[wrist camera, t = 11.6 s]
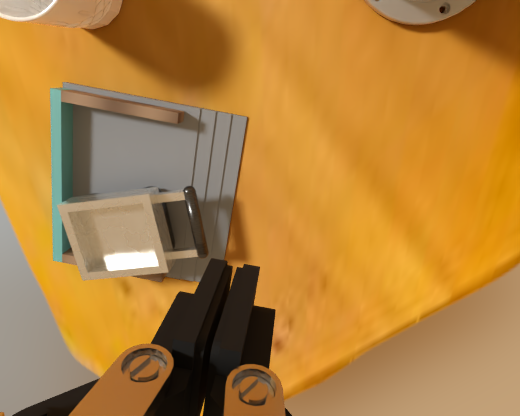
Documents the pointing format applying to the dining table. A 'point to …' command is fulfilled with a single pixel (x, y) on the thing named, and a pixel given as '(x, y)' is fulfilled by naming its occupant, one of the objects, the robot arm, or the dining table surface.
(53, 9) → the white cup
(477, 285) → the dining table surface
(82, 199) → the trolley
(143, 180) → the dock
